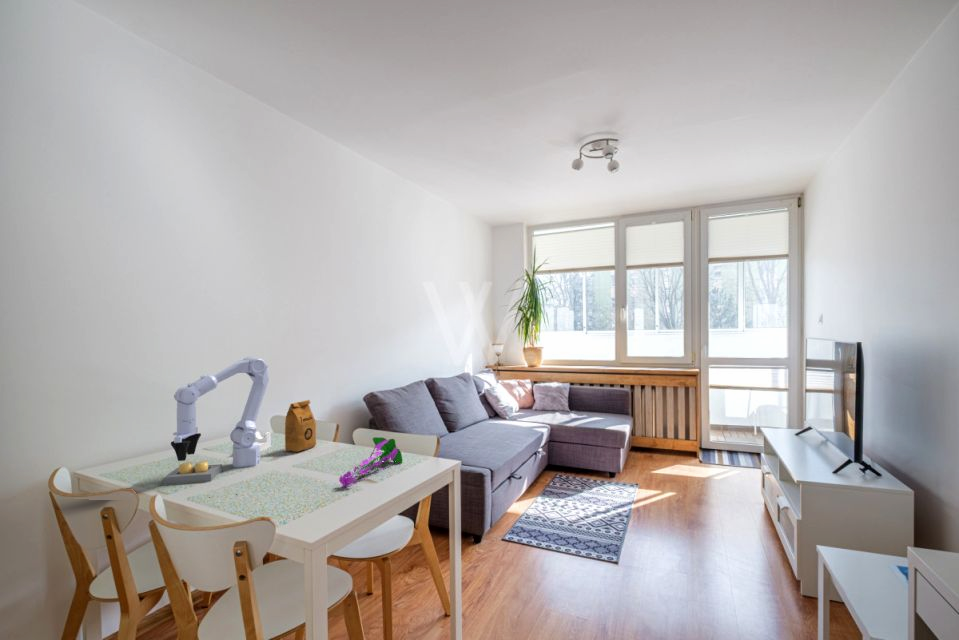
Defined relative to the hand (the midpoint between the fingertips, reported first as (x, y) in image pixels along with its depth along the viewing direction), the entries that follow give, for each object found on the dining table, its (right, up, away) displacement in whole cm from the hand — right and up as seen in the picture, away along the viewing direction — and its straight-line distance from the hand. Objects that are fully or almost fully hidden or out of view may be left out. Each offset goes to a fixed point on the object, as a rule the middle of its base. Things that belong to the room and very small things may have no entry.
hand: (186, 457), depth 158 cm
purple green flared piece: (+66, -9, +9) cm, 67 cm away
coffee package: (+25, -9, +41) cm, 49 cm away
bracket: (+5, -10, +38) cm, 39 cm away
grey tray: (+2, -9, +1) cm, 9 cm away
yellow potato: (+5, -8, +1) cm, 9 cm away
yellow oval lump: (0, -8, 0) cm, 8 cm away
